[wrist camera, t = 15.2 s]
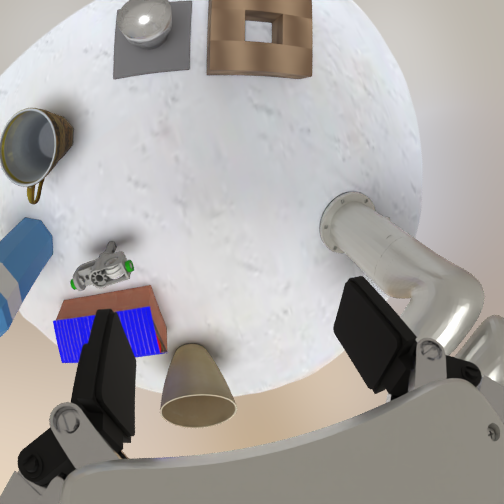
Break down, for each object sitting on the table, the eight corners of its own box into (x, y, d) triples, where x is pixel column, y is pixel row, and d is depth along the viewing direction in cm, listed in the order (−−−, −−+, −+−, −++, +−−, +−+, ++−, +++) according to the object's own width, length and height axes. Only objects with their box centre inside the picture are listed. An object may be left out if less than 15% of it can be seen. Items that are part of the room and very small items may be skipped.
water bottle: (25, 266, 38) (-30, 365, 17) (8, 223, 33) (-68, 311, 12) (61, 259, 39) (7, 368, 18) (44, 211, 35) (-38, 306, 14)
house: (168, 328, 53) (170, 373, 43) (86, 339, 49) (77, 381, 40) (151, 282, 47) (148, 327, 37) (62, 298, 43) (45, 340, 33)
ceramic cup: (33, 110, 26) (-1, 114, 18) (86, 103, 29) (59, 103, 21) (33, 188, 32) (3, 210, 24) (83, 186, 35) (58, 208, 27)
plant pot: (227, 331, 57) (243, 392, 43) (218, 371, 63) (230, 426, 50) (157, 329, 52) (158, 394, 39) (159, 371, 59) (162, 428, 45)
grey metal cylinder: (173, 17, 26) (172, -10, 17) (172, 51, 29) (169, 32, 20) (132, 22, 24) (119, -2, 16) (130, 57, 27) (115, 41, 19)
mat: (191, 2, 25) (191, 0, 25) (189, 69, 31) (189, 69, 31) (118, 11, 23) (117, 9, 22) (114, 79, 29) (113, 78, 28)
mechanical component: (84, 246, 40) (66, 280, 31) (135, 228, 41) (126, 260, 32) (91, 261, 41) (76, 296, 33) (142, 244, 42) (134, 278, 34)
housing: (298, 5, 28) (311, -4, 24) (298, 79, 35) (312, 76, 31) (209, -4, 25) (212, -16, 21) (206, 75, 32) (209, 70, 28)
